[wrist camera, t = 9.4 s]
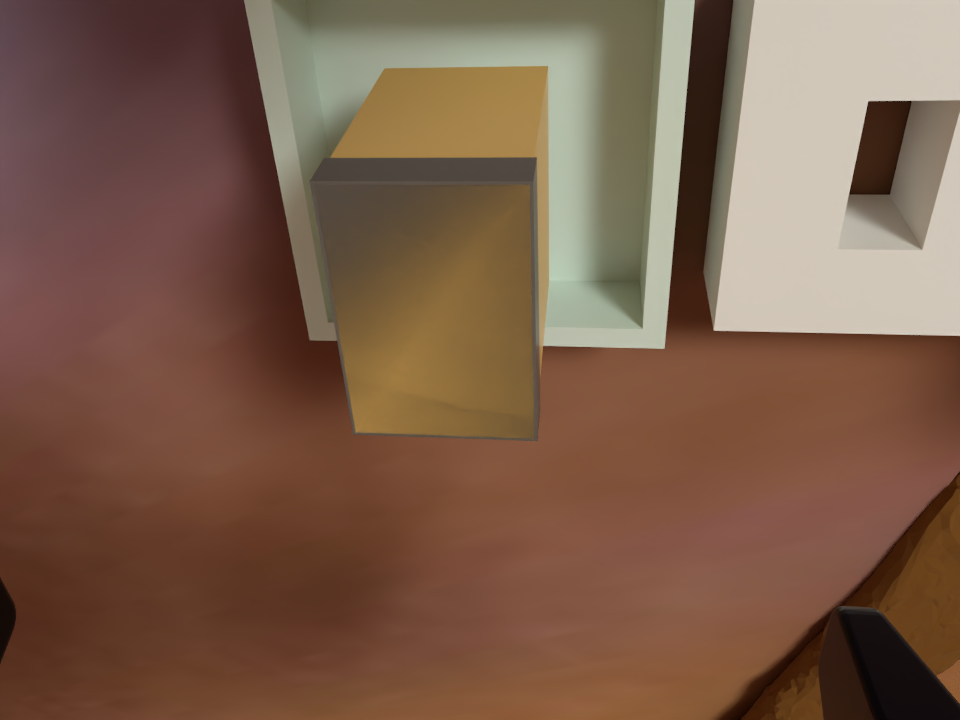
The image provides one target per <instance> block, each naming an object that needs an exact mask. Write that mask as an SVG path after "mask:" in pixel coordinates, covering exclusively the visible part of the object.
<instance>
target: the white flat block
mask: <svg viewBox="0 0 960 720" xmlns="http://www.w3.org/2000/svg"><path fill="white" fill-rule="evenodd" d="M868 101H912V103H911V107H910V111H909V115H908V119H907V124H906V128H905V132H904V136H903V141H902V145H901V149H900V153H899V158H898V162H897V166H896V170H895V175H894V179H893V183H892V187H891V191H890V195H852V194H849V192H850V187H851V182H852V177H853V173H854V168H855V163H856V158H857V153H858V148H859V144H860V139H861V134H862V129H863V124H864V120H865V115H866V110H867V105H868ZM703 273H704V279H705V284H706V290H707V296H708V301H709V307H710V313H711V318H712V324H713V330H714V331H754V332H802V333H850V334H898V335H945V336H960V0H733V7H732V16H731V26H730V35H729V44H728V53H727V62H726V71H725V80H724V89H723V98H722V107H721V116H720V125H719V134H718V143H717V152H716V161H715V170H714V179H713V188H712V197H711V206H710V215H709V225H708V234H707V243H706V252H705V261H704V270H703Z"/></svg>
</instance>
